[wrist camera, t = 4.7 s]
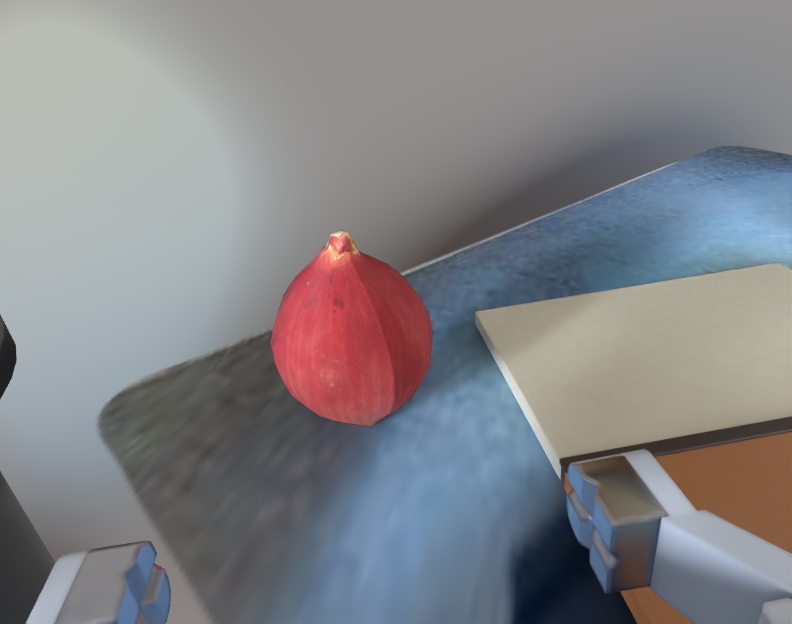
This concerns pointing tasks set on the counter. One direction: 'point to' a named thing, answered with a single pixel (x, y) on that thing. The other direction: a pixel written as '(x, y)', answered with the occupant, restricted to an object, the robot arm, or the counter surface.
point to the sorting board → (665, 390)
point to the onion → (351, 336)
